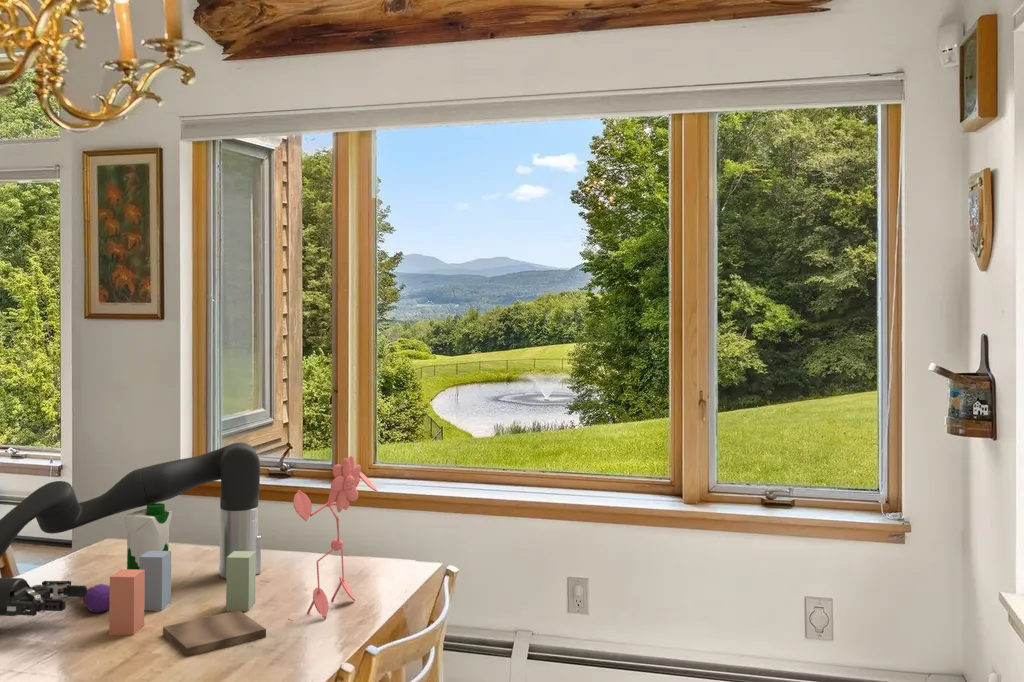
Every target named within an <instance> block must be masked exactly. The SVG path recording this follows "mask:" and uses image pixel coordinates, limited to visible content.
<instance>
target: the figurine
mask: <svg viewBox="0 0 1024 682" xmlns="http://www.w3.org/2000/svg"><path fill="white" fill-rule="evenodd" d="M332 475H333V480H332V482H331V484H330V491H329V495H328V501H327V502H326V503H325V504H323V505H322V506H320V507H319V508H318V509H316V510H314V511H313V512H312V507H313V506H312V501H311V499H310V498H309V497H308V495H307V494H306V493H305V492H303V491H301V490H300V489H298V490H297V491H296V493H295V494H294V497H293V501H292V503H293V508H294V510H295V512H296V514H297V515H298V516H299V517H300V518H301V519H302V520H303V521H305V522H307V521H308V520H309V518H310V517H312V516H314V515H316V514H317V513H318V512H320V511H322V510H323V509H324V508H326V507H328V508H329V509H330V511H331V513H332V515H333V516H334V518H335V519H336V520H335V521H336V523H335V524H336V532H337V533H336V534H337V538H334V539H333V540H332V541H331V543H330V548H331V550H329V551H328V552H326V553H325V554H324V555H323V556H321V557H320V558H318V559H317V560H316V575H317V576H316V578H317V587H315V589H313V593H312V602H311V604H310V605H309V607H308V609H307V612H306V613H307V614H310V612H311V611H312V609H313V607H314V606H315V609H316V611H317V612H318V613H319V615H320V616H321V617H322V618H323V620H326V619H327V617H328V613H329V609H330V608H329V601H328V597H327V595H326V592H325V591H324V590H323V589H322V588H320V586H321V585H320V573H319V572H320V571H319V562H320V561H321V560H323V559H324V558H325V557H326V556H328V555H330V554H331V553H332V552H334V551H335V552H338V551H341V552H340V553H341V554H340V557H341V574H342V575H339V577H338V578H339V583H338V586H337V587H336V590H335V592H334V594H333V595H332V597H331V601H332V602H334V600H335V598H336V596H337V594H338V592H339V591H340V588H341V586H342V588H343V589H344V591H345V593H346V594H347V595H348V597H349V598H350V599H352V601H353V602H355V601H356V599H355V597H354V594H353V592H352V590H351V588H350V586H349V584H348V583H347V582H346V580H345V571H344V570H345V569H344V551H343V547H344V542H343V540H341V539H340V521H339V516H338V515H337V513H341V512H342V511H343V510H344V511H348V508H349V507H350V502H355V501H357V500H358V499H359V491H358V490H357V488H358V486H359V484H360V481H363V483H364V484H365V485H366V486H368V487H369V489H371V490H372V491H374V492H377V493H378V489H377V488H376V486H375V484H373V482H372V481H371V480H370V479H369V478H368V477H367V476H366V474H364V473H363V472H362V466H361V464H356V465H355V456H353V455H351V454H350V456H349V457H348V458H347V457H345V458H344V459H343V460H342V464H338V463H337V464H334V466H333V467H332ZM333 505H336V512H337V513H336V512H335V510H334V508H333V507H332V506H333ZM287 620H288V621H291V622H293V620H292V619H289V618H287Z"/></svg>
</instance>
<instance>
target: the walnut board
mask: <svg viewBox="0 0 1024 682" xmlns="http://www.w3.org/2000/svg"><path fill="white" fill-rule="evenodd" d="M162 635H163V636H164V637H165V638H166V639H167V640H168V641H169V642H171V644H173V645H174V646H175V647H176V649H177V648H178V650H179V651H181V653H183V654H184V655H185V656H186V657H190V656H195V655H198V654H202V653H207V652H210V651H214V650H219V649H223V648H227V647H230V646H234V645H238V644H243V643H246V642H250V641H254V640H258V638H259V639H262V638H261V637H263V638H266V637H267V628H265V627H264V626H262V625H261V624H260V623H258V622H257V621H255V620H254V619H252V618H251V617H249V616H248V615H246V614H245V613H243V611H239V610H237V611H229V612H228V611H227V612H225V613H220V614H215V615H210V616H207V617H201V618H196V619H192V620H188V621H183V622H179V623H175V624H170V625H165V626H163V627H162ZM265 636H266V637H265Z"/></svg>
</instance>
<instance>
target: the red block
mask: <svg viewBox="0 0 1024 682" xmlns="http://www.w3.org/2000/svg"><path fill="white" fill-rule="evenodd" d="M109 586H110V608H109V609H108V610H109V613H108V614H109V617H108V618H109V619H108V620H109V621H108V622H109V624H108V625H109V626H108V627H109V628H108V629H109V630H108V631H109V632H108V633H109V635H110V636H111V635H114V636H115V635H116V636H127V635H128V636H134V635H136V634H135V633H136V632H137V633H138V632H139V631H140V630H141V629H143V628H144V627H145V611H144V602H145V570H133V569H127V568H126V569H124V568H122V569H121V568H120V569H119V570H118V571H116V572H115V573H113V574H111V575H110V576H109ZM143 626H144V627H143Z"/></svg>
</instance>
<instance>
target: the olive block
mask: <svg viewBox="0 0 1024 682" xmlns="http://www.w3.org/2000/svg"><path fill="white" fill-rule="evenodd" d="M256 575H257V574H256V551H233V552H232V553H231V554H230V555H229V556H228V557H227V570H226V578H225V579H226V582H225V583H226V586H225V589H226V592H225V595H226V596H225V598H226V599H225V600H226V602H225V610H226V611H227V612H228V611H229V612H232V611H237V610H239V611H241V612H249V611H250V610H251V609H252V608H253V607H254V606H255V604H256V577H257V576H256Z"/></svg>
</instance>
